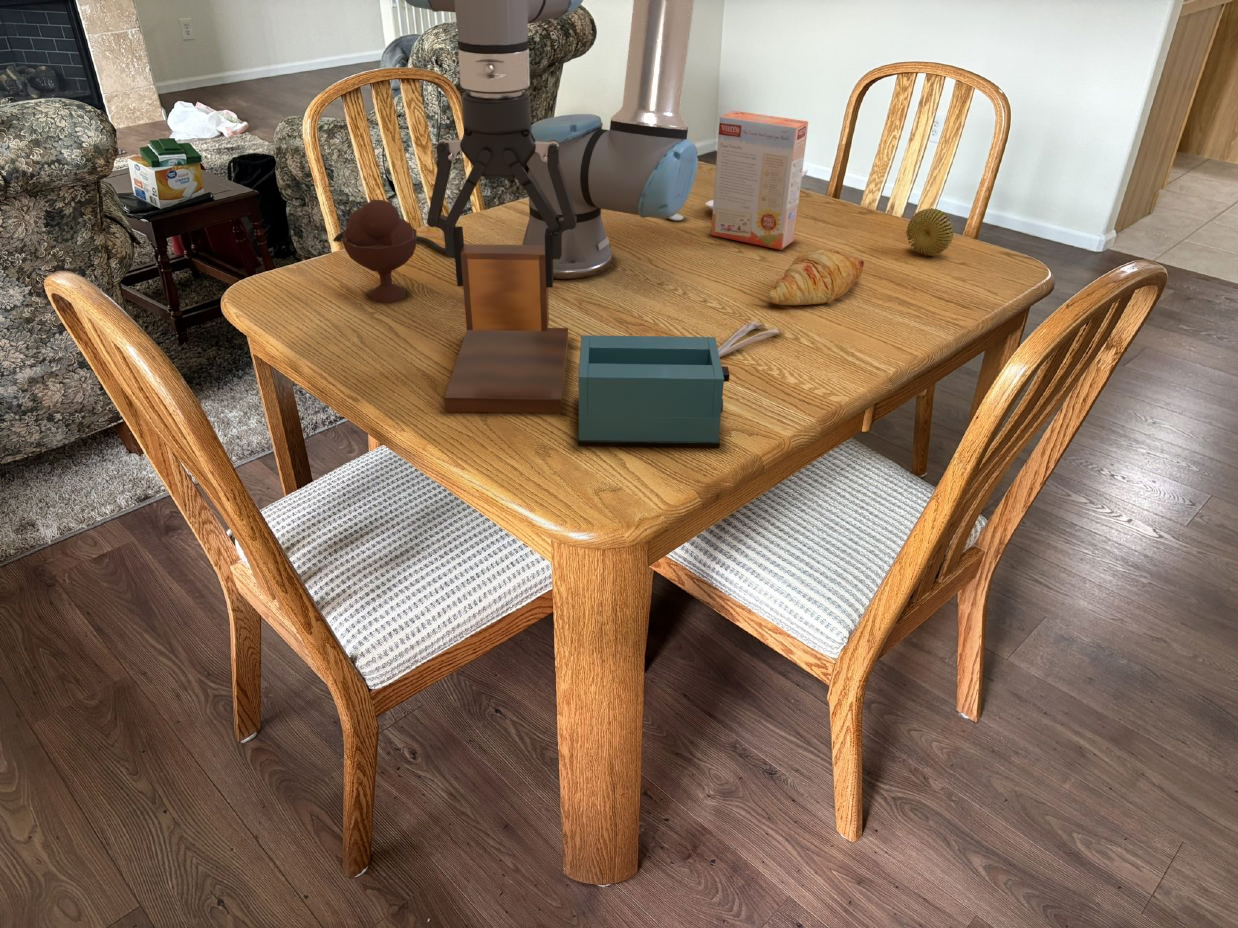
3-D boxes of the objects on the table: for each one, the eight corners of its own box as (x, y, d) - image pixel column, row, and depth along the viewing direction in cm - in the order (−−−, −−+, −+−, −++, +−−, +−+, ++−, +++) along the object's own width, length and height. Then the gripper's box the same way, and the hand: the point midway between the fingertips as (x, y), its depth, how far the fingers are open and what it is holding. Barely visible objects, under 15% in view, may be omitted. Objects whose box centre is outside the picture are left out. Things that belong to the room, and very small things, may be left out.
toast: (466, 330, 113) (460, 252, 107) (470, 320, 115) (463, 244, 110) (547, 331, 113) (545, 254, 107) (549, 321, 115) (546, 245, 110)
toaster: (577, 446, 104) (576, 377, 99) (580, 400, 113) (579, 334, 108) (728, 448, 104) (735, 379, 99) (719, 401, 113) (725, 336, 108)
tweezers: (754, 326, 131) (755, 314, 130) (781, 337, 129) (782, 324, 128) (676, 373, 121) (677, 360, 120) (704, 386, 119) (704, 373, 118)
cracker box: (794, 242, 161) (810, 120, 150) (781, 252, 157) (796, 127, 145) (724, 226, 167) (734, 108, 156) (709, 236, 163) (718, 115, 152)
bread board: (560, 413, 110) (560, 399, 109) (445, 412, 110) (444, 397, 109) (569, 328, 130) (569, 315, 129) (472, 327, 130) (471, 314, 129)
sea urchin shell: (951, 257, 156) (962, 212, 152) (941, 263, 154) (951, 217, 149) (909, 246, 160) (918, 201, 156) (898, 251, 158) (907, 206, 154)
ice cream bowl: (437, 288, 141) (428, 193, 133) (394, 315, 133) (380, 214, 124) (382, 276, 145) (369, 182, 136) (336, 301, 136) (319, 203, 128)
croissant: (781, 336, 137) (805, 300, 130) (740, 288, 140) (762, 252, 133) (867, 298, 148) (894, 264, 142) (828, 255, 151) (852, 220, 144)
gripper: (384, 96, 95) (407, 293, 108) (598, 100, 96) (597, 296, 108) (398, 82, 102) (419, 269, 114) (599, 86, 102) (598, 272, 114)
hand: (505, 282), depth 111 cm, fingers closed on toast, 10 cm apart
